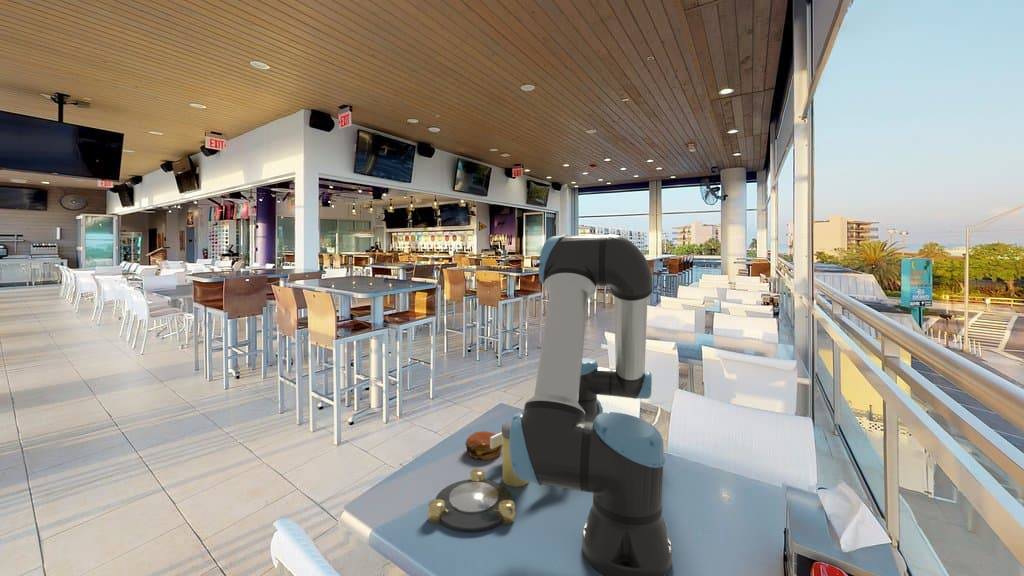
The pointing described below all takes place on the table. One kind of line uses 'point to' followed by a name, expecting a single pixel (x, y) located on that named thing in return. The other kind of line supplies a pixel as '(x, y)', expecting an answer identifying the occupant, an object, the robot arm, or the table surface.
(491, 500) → the tribrach
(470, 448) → the burger
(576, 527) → the table surface
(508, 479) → the yellow battery cell
